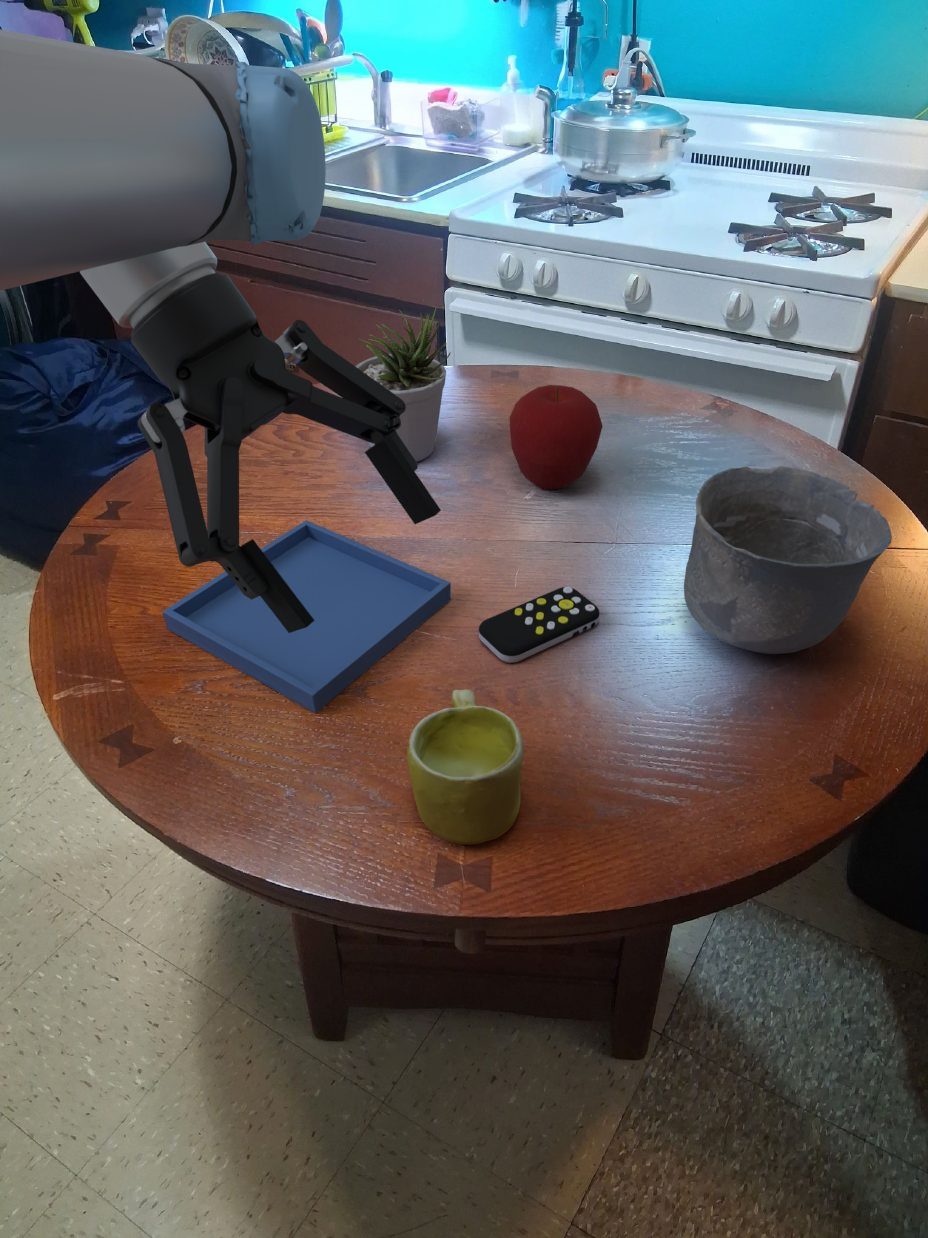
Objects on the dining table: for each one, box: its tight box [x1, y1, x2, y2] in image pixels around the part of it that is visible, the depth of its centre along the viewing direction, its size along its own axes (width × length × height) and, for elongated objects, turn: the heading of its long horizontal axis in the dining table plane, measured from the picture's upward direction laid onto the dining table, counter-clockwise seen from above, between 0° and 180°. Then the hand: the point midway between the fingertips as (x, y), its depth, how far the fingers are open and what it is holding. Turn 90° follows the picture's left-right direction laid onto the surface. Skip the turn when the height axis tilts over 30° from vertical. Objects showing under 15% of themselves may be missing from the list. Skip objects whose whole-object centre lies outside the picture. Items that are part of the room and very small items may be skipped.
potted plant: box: [355, 307, 452, 463], centre depth 116 cm, size 13×14×20 cm
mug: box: [406, 689, 525, 846], centre depth 73 cm, size 12×10×10 cm
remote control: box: [478, 586, 600, 664], centre depth 92 cm, size 6×13×2 cm, turn 123°
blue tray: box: [161, 519, 452, 714], centre depth 94 cm, size 22×22×2 cm
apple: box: [509, 384, 603, 491], centre depth 112 cm, size 12×12×13 cm
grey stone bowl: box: [683, 465, 893, 655], centre depth 87 cm, size 18×18×15 cm
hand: (368, 569), depth 61 cm, fingers open, 13 cm apart
